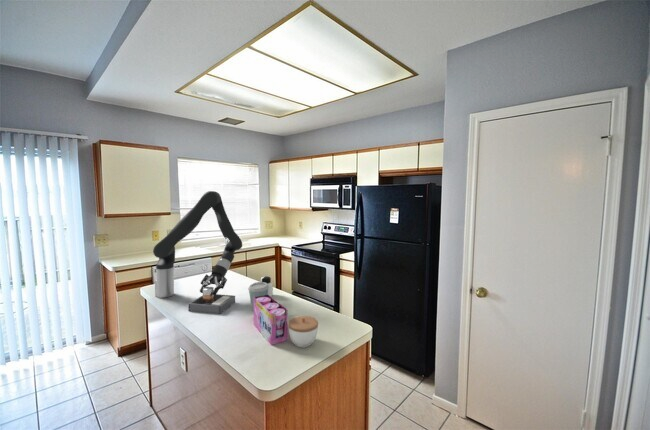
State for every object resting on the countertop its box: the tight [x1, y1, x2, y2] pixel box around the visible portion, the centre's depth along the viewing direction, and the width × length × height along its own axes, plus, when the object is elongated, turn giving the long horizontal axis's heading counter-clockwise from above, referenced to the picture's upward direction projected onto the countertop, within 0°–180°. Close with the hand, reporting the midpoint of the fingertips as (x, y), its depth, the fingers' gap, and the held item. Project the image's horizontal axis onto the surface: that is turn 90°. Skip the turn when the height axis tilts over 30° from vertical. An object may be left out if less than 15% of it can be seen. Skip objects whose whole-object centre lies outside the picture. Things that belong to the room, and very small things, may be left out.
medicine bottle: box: [260, 275, 274, 297], centre depth 171 cm, size 7×7×12 cm
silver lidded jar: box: [202, 286, 215, 305], centre depth 151 cm, size 6×6×10 cm
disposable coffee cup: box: [248, 281, 269, 313], centre depth 148 cm, size 11×11×15 cm
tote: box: [188, 293, 236, 315], centre depth 151 cm, size 18×16×5 cm
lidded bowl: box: [288, 315, 319, 348], centre depth 117 cm, size 13×13×11 cm
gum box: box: [253, 295, 289, 346], centre depth 125 cm, size 24×8×14 cm, turn 34°
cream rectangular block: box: [211, 296, 231, 306], centre depth 150 cm, size 5×12×4 cm, turn 171°
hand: (207, 293), depth 150 cm, fingers open, 8 cm apart
